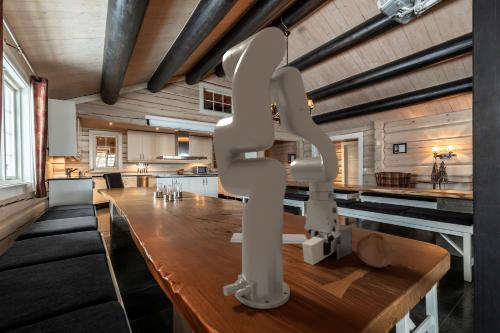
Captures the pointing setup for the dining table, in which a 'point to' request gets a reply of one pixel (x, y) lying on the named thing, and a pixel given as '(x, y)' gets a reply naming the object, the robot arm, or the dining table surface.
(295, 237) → the baseboard molding
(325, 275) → the dining table surface
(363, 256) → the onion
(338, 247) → the end cap
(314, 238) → the rectangular block
